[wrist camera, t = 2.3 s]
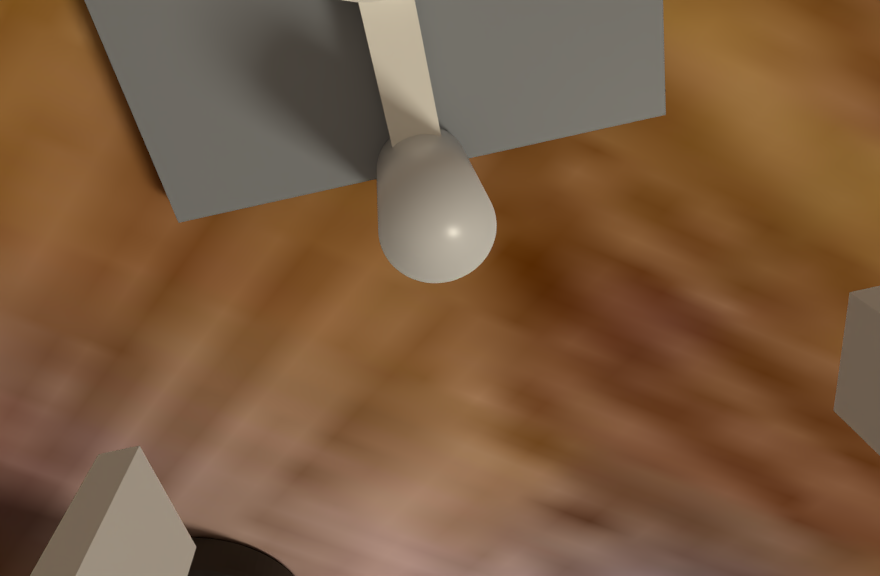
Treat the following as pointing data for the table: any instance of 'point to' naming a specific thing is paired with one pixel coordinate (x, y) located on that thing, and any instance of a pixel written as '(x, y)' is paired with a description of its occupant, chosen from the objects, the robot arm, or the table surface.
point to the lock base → (362, 85)
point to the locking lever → (421, 160)
